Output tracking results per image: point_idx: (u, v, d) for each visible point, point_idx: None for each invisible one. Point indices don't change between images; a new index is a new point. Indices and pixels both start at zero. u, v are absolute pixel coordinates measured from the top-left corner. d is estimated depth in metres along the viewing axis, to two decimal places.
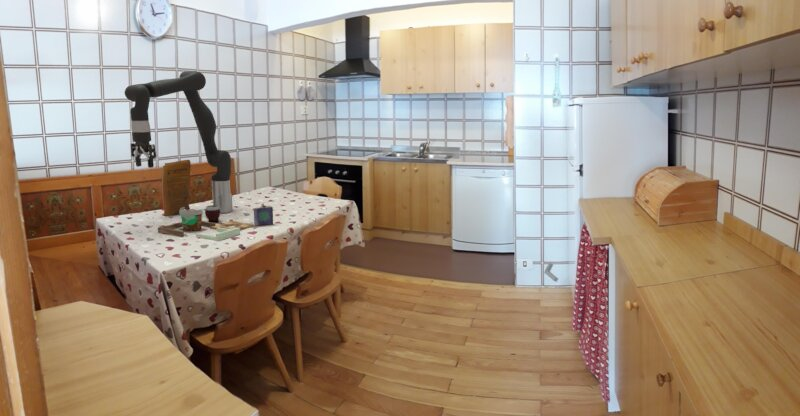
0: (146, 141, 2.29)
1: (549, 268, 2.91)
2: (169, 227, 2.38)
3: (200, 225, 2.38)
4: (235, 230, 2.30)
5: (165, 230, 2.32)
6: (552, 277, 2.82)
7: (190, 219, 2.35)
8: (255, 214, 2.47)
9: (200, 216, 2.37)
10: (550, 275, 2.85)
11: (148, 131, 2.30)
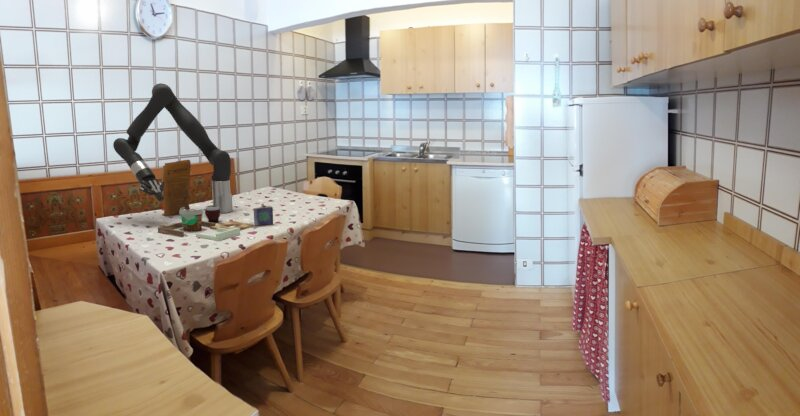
0: (140, 181, 2.43)
1: None
2: (169, 227, 2.38)
3: (200, 225, 2.38)
4: (235, 230, 2.30)
5: (165, 230, 2.32)
6: None
7: (190, 219, 2.35)
8: (255, 214, 2.47)
9: (200, 216, 2.37)
10: None
11: (137, 171, 2.43)
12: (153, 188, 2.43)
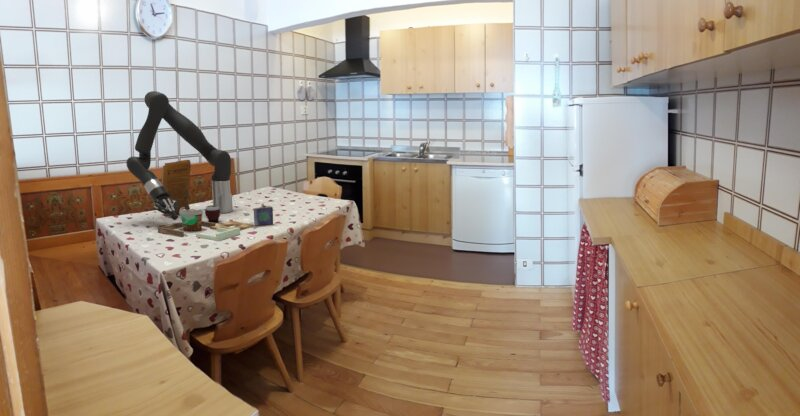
0: (154, 199, 2.40)
1: None
2: (169, 227, 2.38)
3: (200, 225, 2.38)
4: (235, 230, 2.30)
5: (165, 230, 2.32)
6: None
7: (190, 219, 2.35)
8: (255, 214, 2.47)
9: (200, 216, 2.37)
10: None
11: (151, 190, 2.41)
12: (167, 207, 2.40)
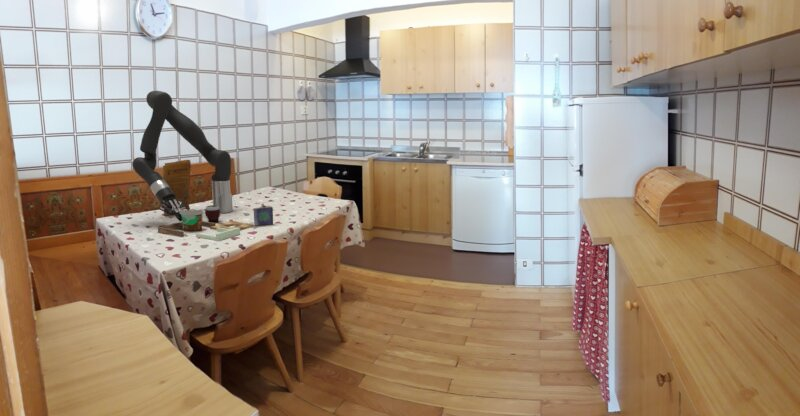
0: (160, 200, 2.39)
1: None
2: (169, 227, 2.38)
3: (200, 225, 2.38)
4: (235, 230, 2.30)
5: (165, 230, 2.32)
6: None
7: (190, 219, 2.35)
8: (255, 214, 2.47)
9: (200, 216, 2.37)
10: None
11: (157, 191, 2.39)
12: (173, 208, 2.39)
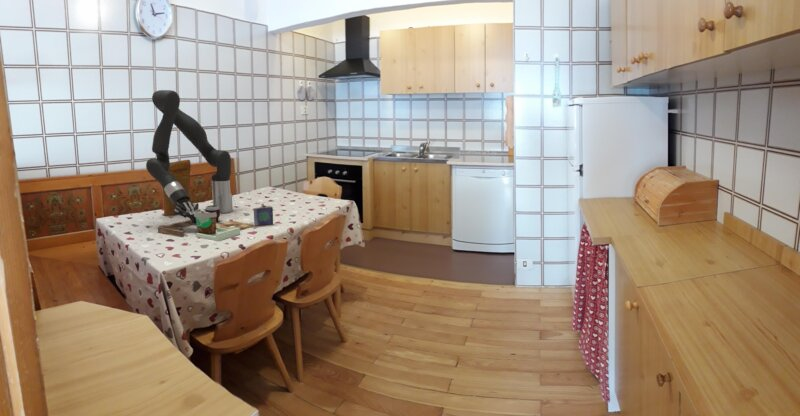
0: (174, 202, 2.34)
1: None
2: (169, 227, 2.38)
3: (214, 228, 2.33)
4: (235, 230, 2.30)
5: (165, 230, 2.32)
6: None
7: (204, 222, 2.30)
8: (255, 214, 2.47)
9: (214, 219, 2.32)
10: None
11: (171, 193, 2.35)
12: (188, 210, 2.34)
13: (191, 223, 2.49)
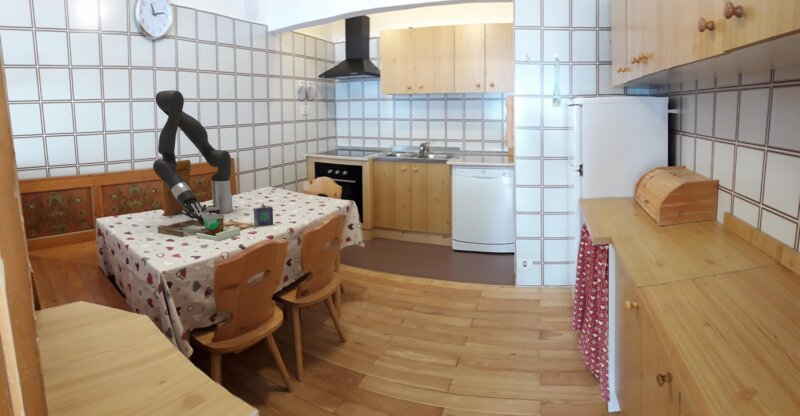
0: (182, 204, 2.32)
1: None
2: (169, 227, 2.38)
3: (221, 230, 2.31)
4: (235, 230, 2.30)
5: (165, 230, 2.32)
6: None
7: (211, 223, 2.28)
8: (255, 214, 2.47)
9: (222, 220, 2.30)
10: None
11: (178, 194, 2.32)
12: (196, 211, 2.32)
13: (191, 223, 2.49)
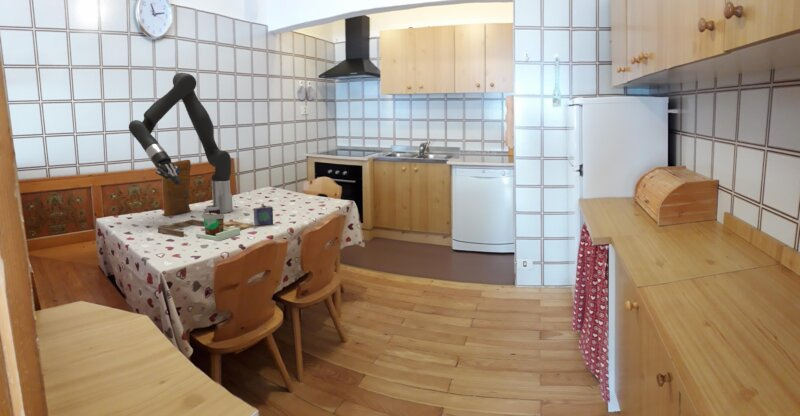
0: (156, 164, 2.38)
1: None
2: (169, 227, 2.38)
3: (221, 230, 2.31)
4: (235, 230, 2.30)
5: (165, 230, 2.32)
6: None
7: (211, 223, 2.28)
8: (255, 214, 2.47)
9: (222, 220, 2.30)
10: None
11: (152, 155, 2.38)
12: (170, 172, 2.38)
13: (191, 223, 2.49)
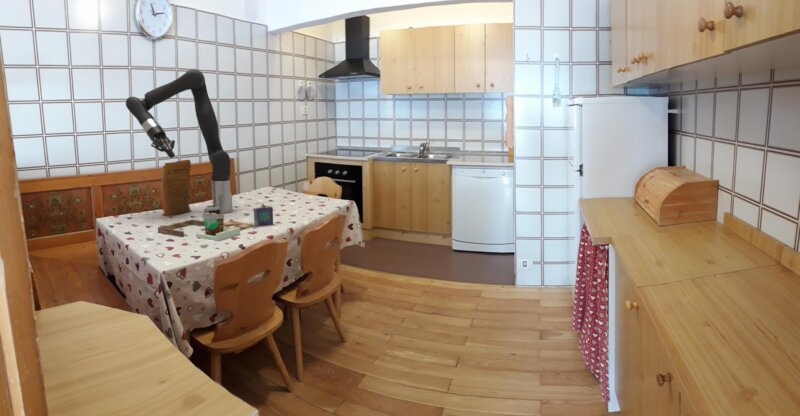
0: (151, 138, 2.50)
1: None
2: (169, 227, 2.38)
3: (221, 230, 2.31)
4: (235, 230, 2.30)
5: (165, 230, 2.32)
6: None
7: (211, 223, 2.28)
8: (255, 214, 2.47)
9: (222, 220, 2.30)
10: None
11: (148, 129, 2.50)
12: (164, 145, 2.50)
13: (191, 223, 2.49)
